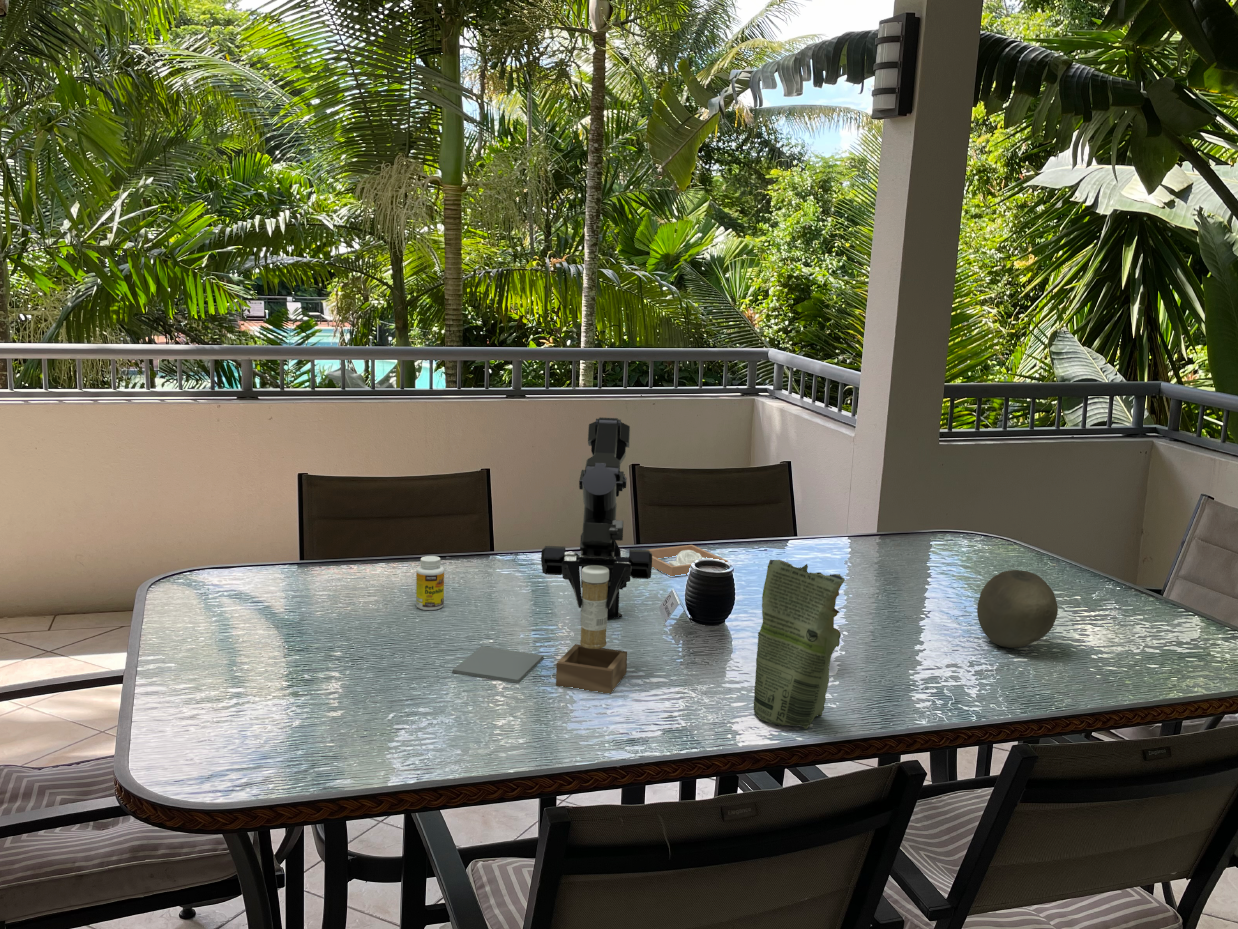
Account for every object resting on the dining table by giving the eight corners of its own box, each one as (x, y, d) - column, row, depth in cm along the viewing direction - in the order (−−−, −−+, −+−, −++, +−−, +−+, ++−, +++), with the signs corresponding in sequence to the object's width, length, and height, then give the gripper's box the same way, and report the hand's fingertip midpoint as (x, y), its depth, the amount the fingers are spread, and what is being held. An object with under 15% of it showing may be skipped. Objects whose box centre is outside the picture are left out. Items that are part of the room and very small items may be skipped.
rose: (699, 544, 244) (719, 554, 235) (699, 561, 244) (718, 572, 236) (663, 547, 240) (681, 557, 231) (662, 564, 241) (680, 576, 232)
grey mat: (481, 649, 180) (481, 646, 180) (543, 658, 177) (543, 655, 177) (452, 673, 169) (452, 669, 169) (518, 683, 165) (518, 679, 165)
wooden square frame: (691, 554, 250) (692, 544, 249) (727, 570, 236) (727, 560, 236) (637, 560, 242) (638, 550, 242) (671, 577, 229) (671, 567, 229)
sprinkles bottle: (599, 639, 170) (602, 563, 168) (611, 648, 166) (614, 570, 164) (575, 642, 168) (577, 565, 166) (586, 651, 164) (588, 573, 162)
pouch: (749, 701, 162) (759, 552, 157) (823, 704, 162) (835, 555, 157) (757, 731, 151) (767, 572, 146) (836, 734, 151) (849, 575, 146)
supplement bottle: (422, 612, 199) (422, 563, 197) (412, 604, 203) (412, 556, 201) (448, 608, 202) (448, 560, 200) (437, 601, 206) (437, 553, 204)
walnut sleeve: (574, 665, 174) (575, 644, 173) (626, 673, 171) (627, 651, 171) (555, 685, 165) (556, 663, 164) (610, 694, 162) (611, 671, 162)
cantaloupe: (973, 653, 188) (981, 576, 185) (974, 630, 201) (981, 558, 198) (1054, 665, 183) (1063, 587, 180) (1049, 641, 196) (1058, 567, 193)
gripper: (543, 499, 167) (534, 582, 158) (654, 504, 166) (652, 587, 158) (546, 533, 176) (538, 613, 167) (652, 537, 176) (649, 618, 167)
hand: (594, 607), depth 165 cm, fingers closed on sprinkles bottle, 4 cm apart
